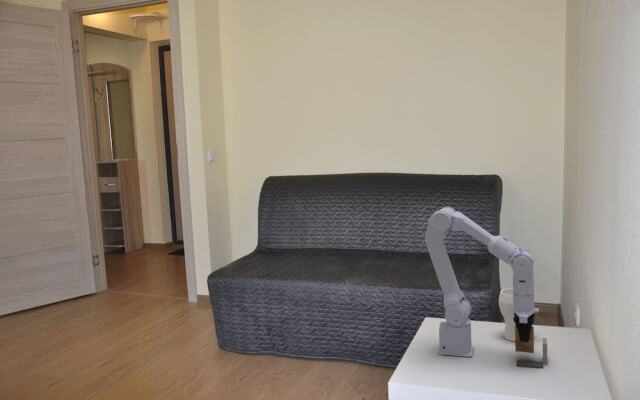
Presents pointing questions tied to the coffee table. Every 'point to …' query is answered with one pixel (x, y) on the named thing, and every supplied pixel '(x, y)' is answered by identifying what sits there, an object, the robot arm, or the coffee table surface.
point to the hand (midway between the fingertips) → (524, 339)
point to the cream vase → (507, 312)
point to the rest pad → (529, 363)
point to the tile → (545, 351)
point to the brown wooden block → (524, 345)
